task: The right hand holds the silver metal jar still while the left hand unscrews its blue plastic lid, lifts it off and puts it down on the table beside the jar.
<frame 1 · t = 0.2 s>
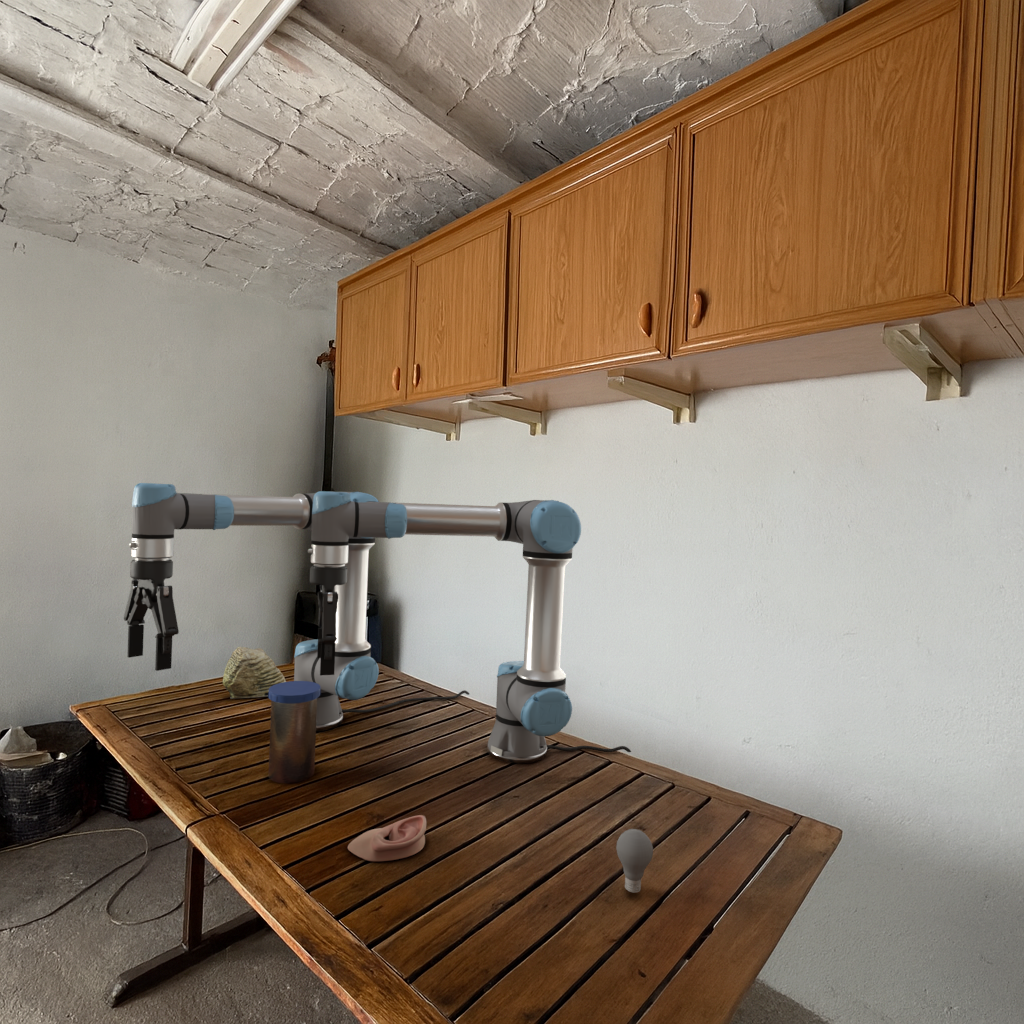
left hand: (148, 662, 129), 28 cm above the table, tool pointing down, fingers open, 13 cm apart
right hand: (325, 665, 133), 28 cm above the table, tool pointing down, fingers open, 13 cm apart
fossil: (254, 694, 198), on the table
jar: (291, 773, 144), on the table
lid: (294, 689, 144), point 19 cm above the table, screwed on, not yet turned
anatomical model: (387, 846, 116), on the table
light bulb: (632, 891, 106), on the table
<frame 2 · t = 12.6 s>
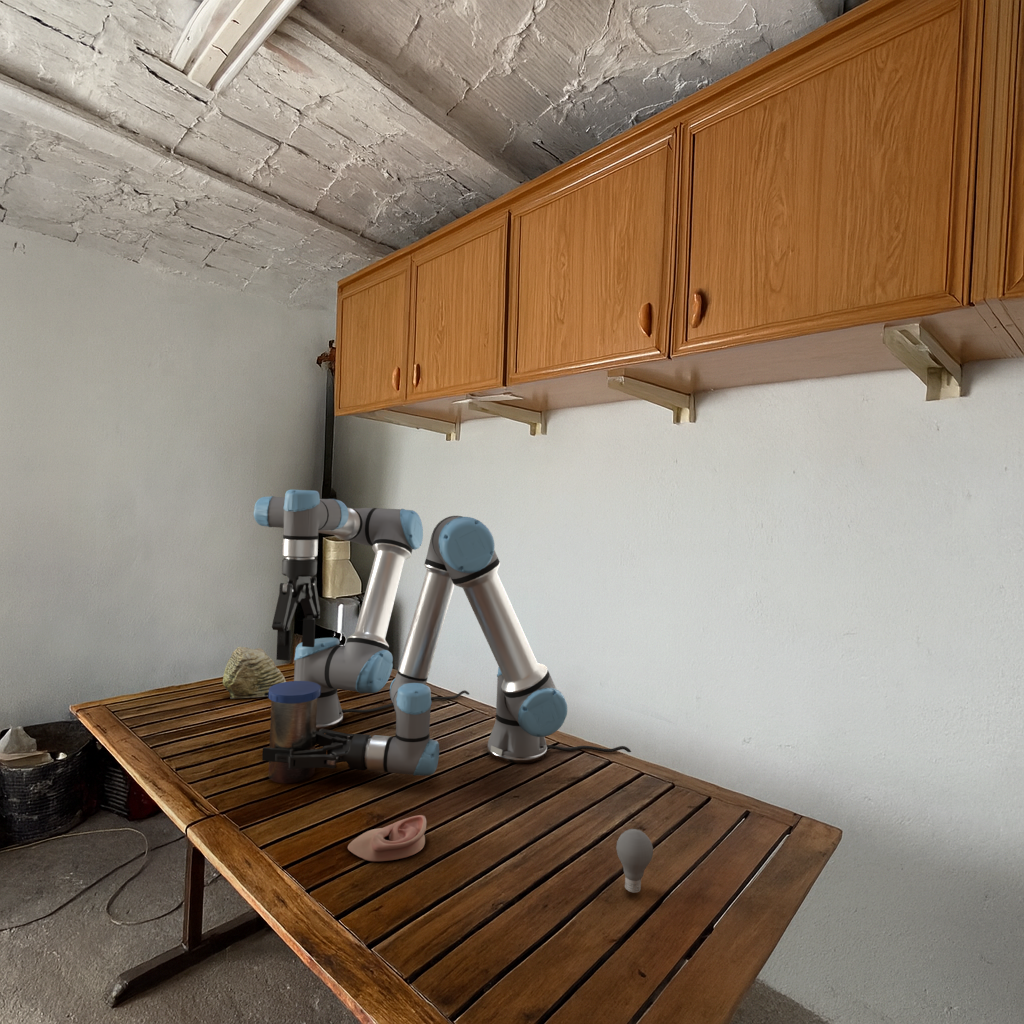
left hand: (296, 652, 144), 28 cm above the table, tool pointing down, fingers open, 12 cm apart
right hand: (274, 744, 144), 6 cm above the table, tool horizontal, fingers closed on jar, 10 cm apart
jar: (291, 773, 144), on the table, touching right hand
everything else where it was.
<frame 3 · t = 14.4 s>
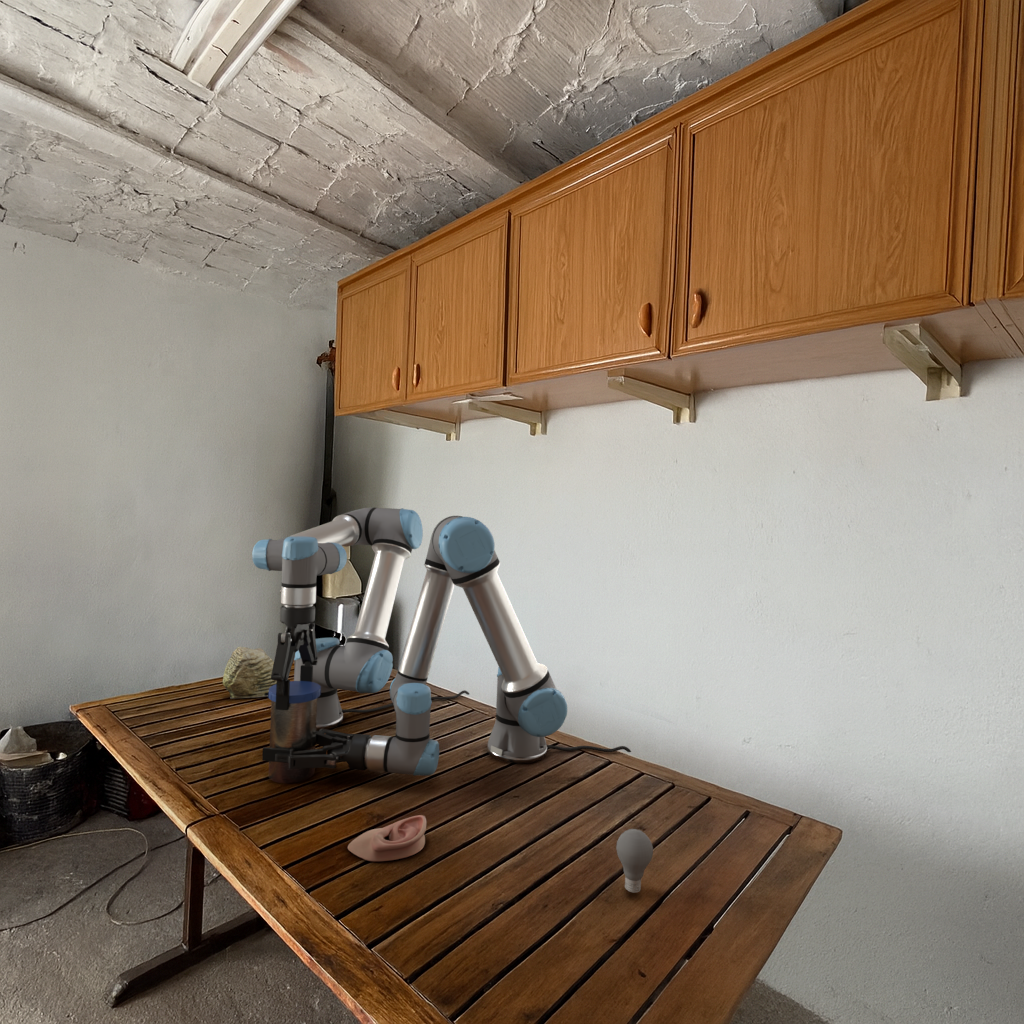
left hand: (294, 701, 144), 17 cm above the table, tool pointing down, fingers closed on lid, 11 cm apart
right hand: (274, 744, 144), 6 cm above the table, tool horizontal, fingers closed on jar, 10 cm apart
jar: (291, 773, 144), on the table, touching right hand
lid: (294, 689, 144), point 19 cm above the table, screwed on, not yet turned, touching left hand
everything else where it was.
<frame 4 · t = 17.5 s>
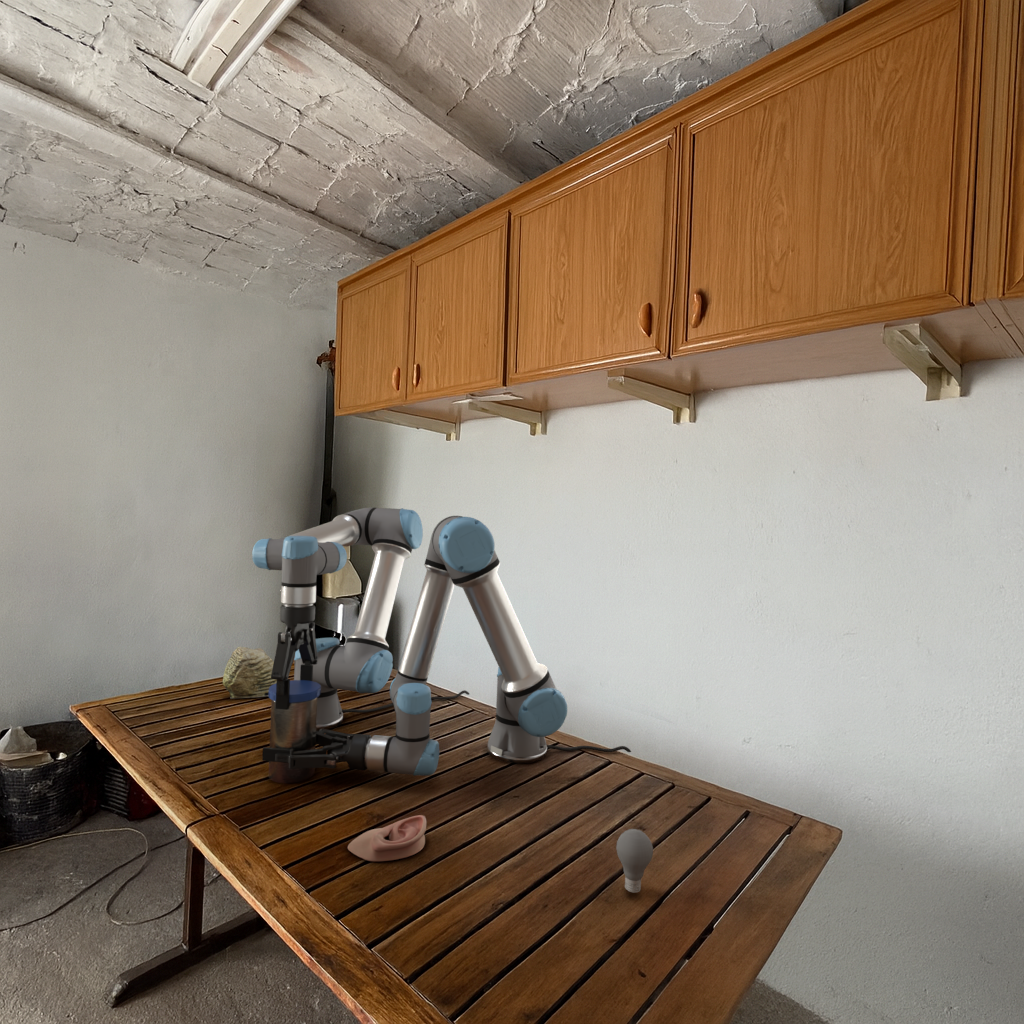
left hand: (294, 700, 144), 17 cm above the table, tool pointing down, fingers closed on lid, 11 cm apart
right hand: (274, 744, 144), 6 cm above the table, tool horizontal, fingers closed on jar, 10 cm apart
jar: (291, 773, 144), on the table, touching right hand
lid: (295, 688, 144), point 19 cm above the table, turned 75° so far, risen 0.2 cm, still on its thread, touching left hand
everything else where it was.
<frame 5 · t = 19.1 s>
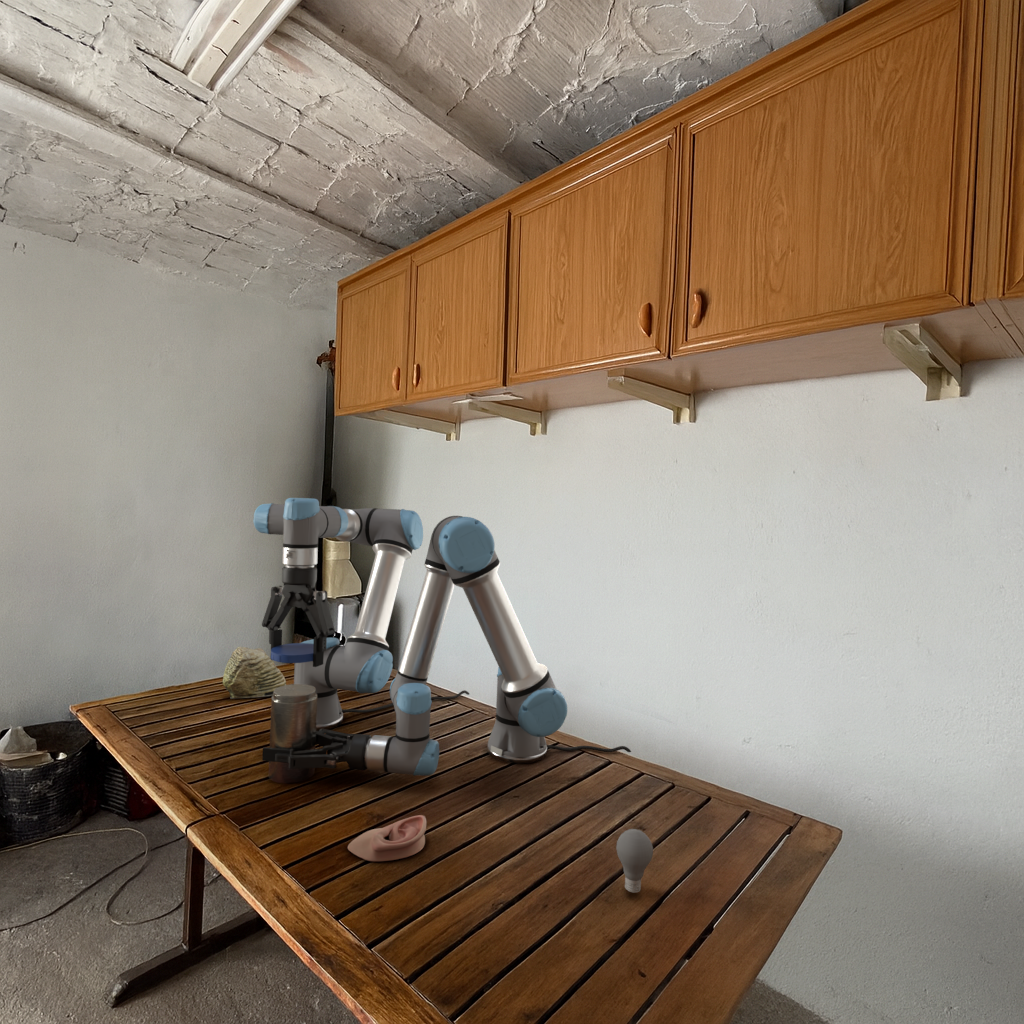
left hand: (296, 662, 144), 25 cm above the table, tool pointing down, fingers closed on lid, 11 cm apart
right hand: (274, 744, 144), 6 cm above the table, tool horizontal, fingers closed on jar, 10 cm apart
jar: (291, 773, 144), on the table, touching right hand
lid: (297, 650, 144), point 28 cm above the table, off its thread, touching left hand
everything else where it was.
when the left hand's fingers open (0 cm above the table, at t = 24.8 s): lid drops 2 cm, point 1 cm above the table.
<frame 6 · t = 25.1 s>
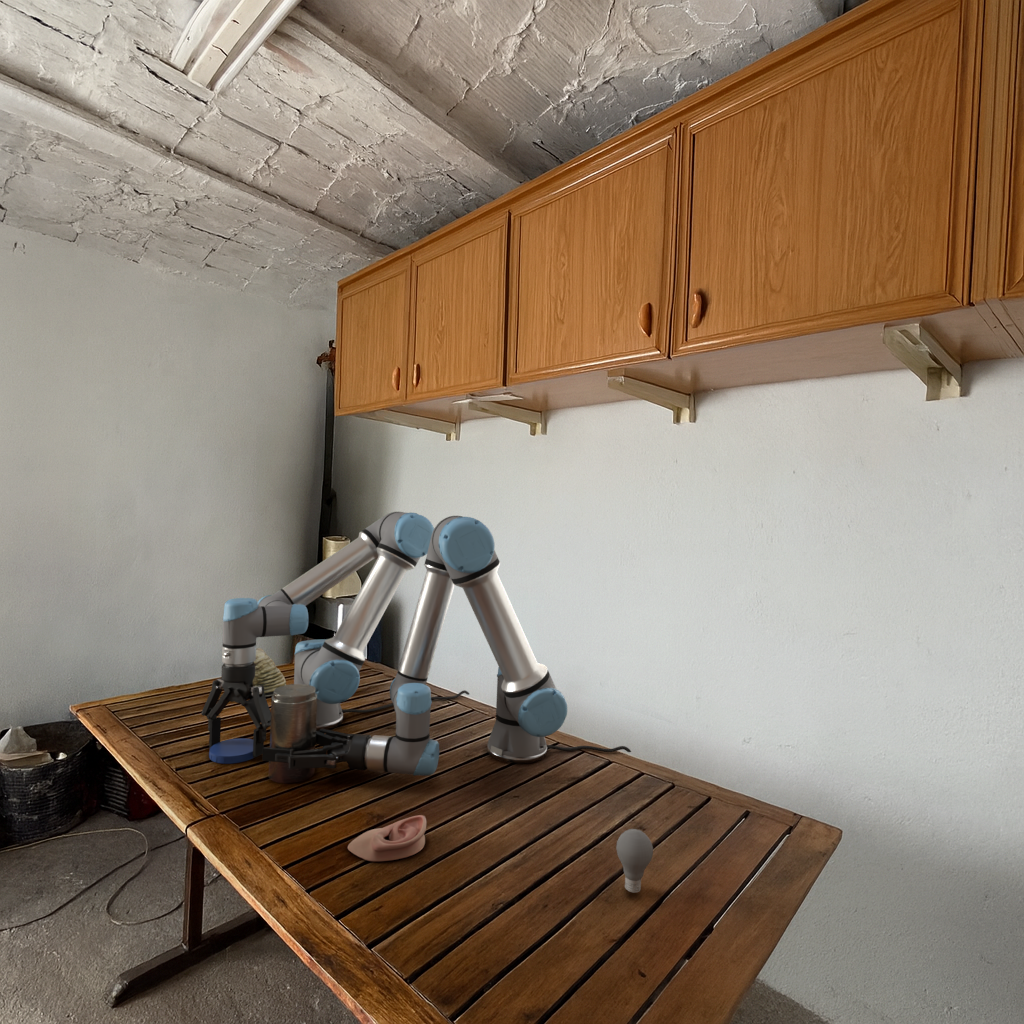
left hand: (236, 750, 153), 1 cm above the table, tool pointing down, fingers open, 13 cm apart
right hand: (274, 744, 144), 6 cm above the table, tool horizontal, fingers closed on jar, 10 cm apart
jar: (291, 773, 144), on the table, touching right hand
lid: (234, 748, 153), point 1 cm above the table, off its thread
everything else where it was.
when the right hand's fingers open (6 cm above the table, at t = 25.9 s): jar stays where it is, on the table.
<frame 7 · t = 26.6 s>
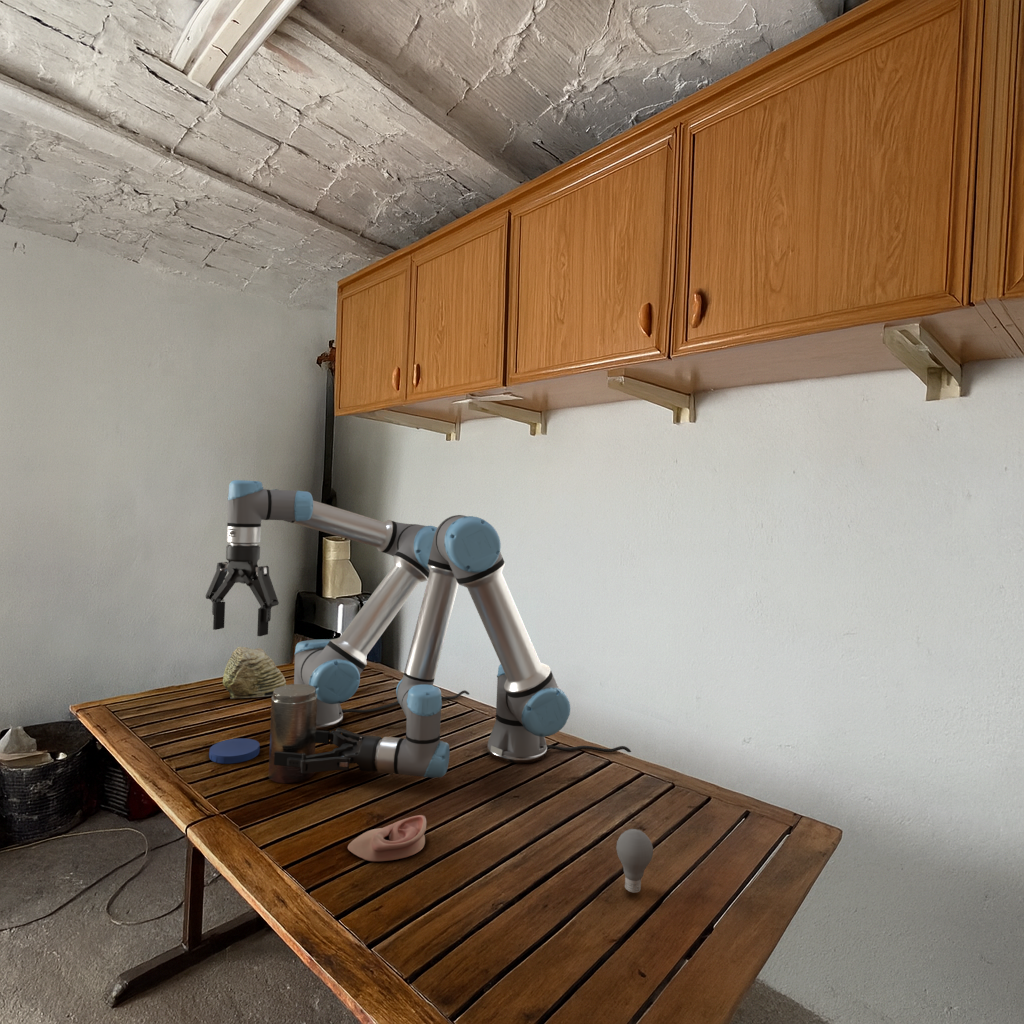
left hand: (240, 632, 153), 30 cm above the table, tool pointing down, fingers open, 13 cm apart
right hand: (289, 746, 144), 6 cm above the table, tool horizontal, fingers open, 13 cm apart
jar: (291, 773, 144), on the table
everything else where it was.
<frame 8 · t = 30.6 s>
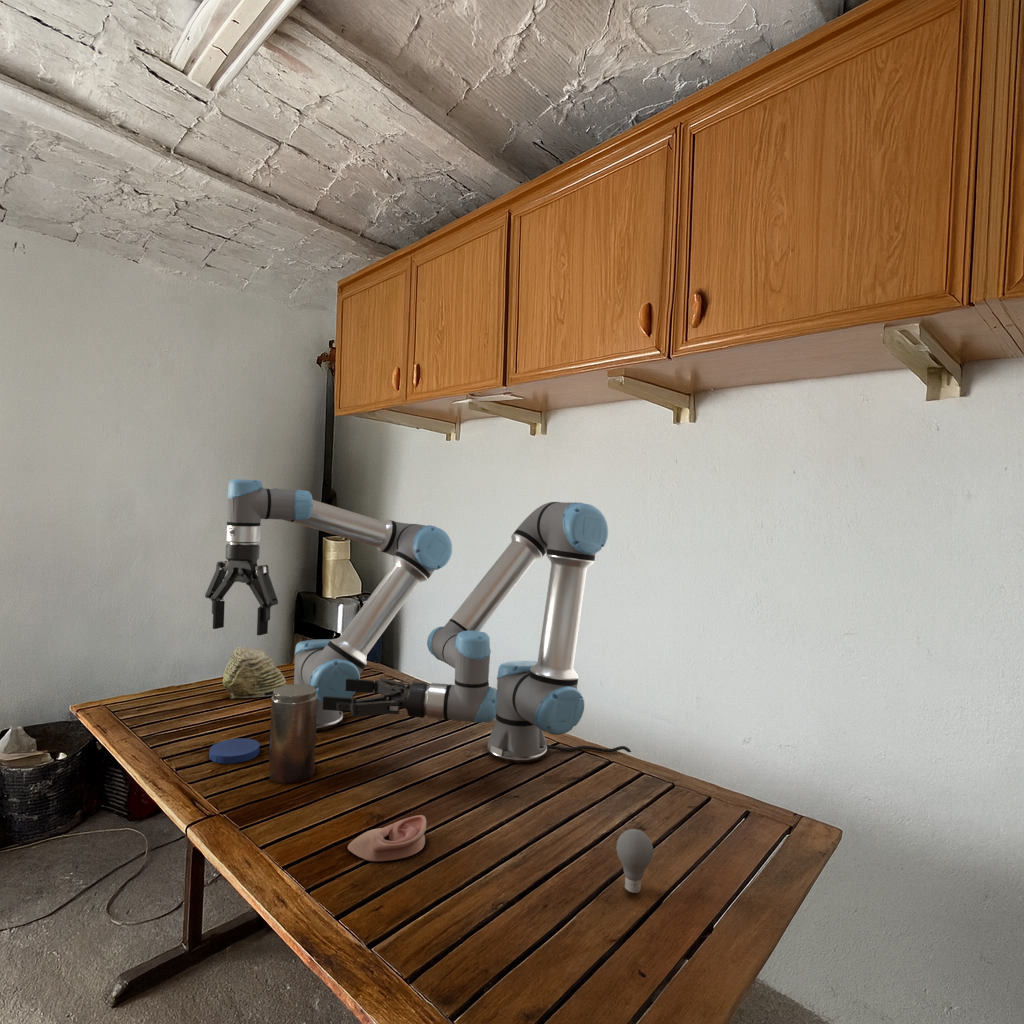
left hand: (239, 631, 153), 30 cm above the table, tool pointing down, fingers open, 13 cm apart
right hand: (335, 693, 143), 19 cm above the table, tool horizontal, fingers open, 13 cm apart
nothing on the table moved.
at the end: lid came off its thread; lid point 1.4 cm above the table; the left hand is holding nothing; the right hand is holding nothing; jar tilted 0°; jar moved 0.0 cm from its start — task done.
